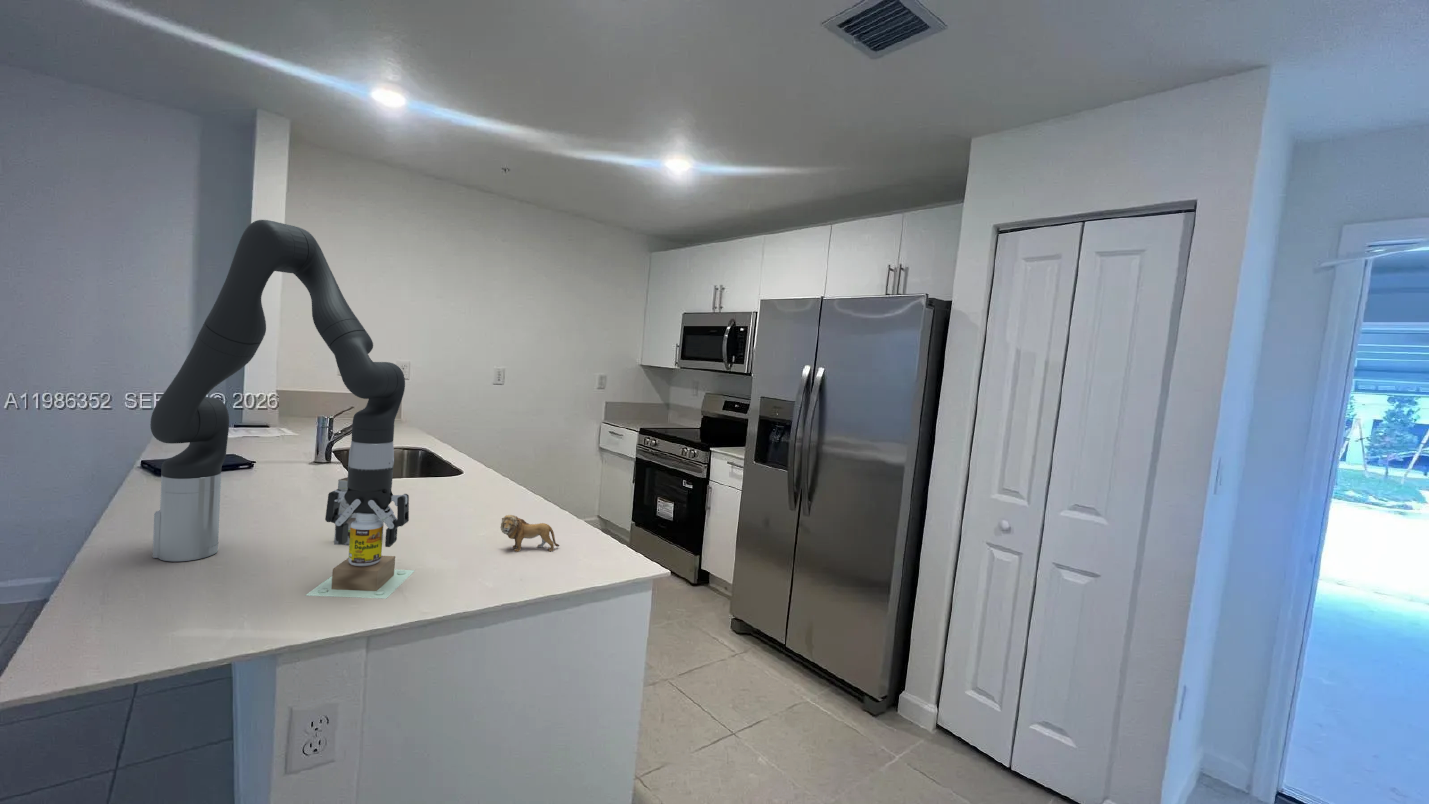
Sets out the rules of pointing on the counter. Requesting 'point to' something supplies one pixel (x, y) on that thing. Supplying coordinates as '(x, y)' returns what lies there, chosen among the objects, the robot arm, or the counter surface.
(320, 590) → the plate
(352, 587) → the walnut block
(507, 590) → the counter surface
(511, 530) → the lion figurine
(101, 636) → the counter surface
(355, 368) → the robot arm
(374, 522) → the supplement bottle
